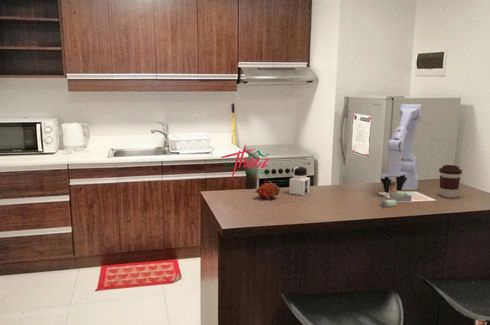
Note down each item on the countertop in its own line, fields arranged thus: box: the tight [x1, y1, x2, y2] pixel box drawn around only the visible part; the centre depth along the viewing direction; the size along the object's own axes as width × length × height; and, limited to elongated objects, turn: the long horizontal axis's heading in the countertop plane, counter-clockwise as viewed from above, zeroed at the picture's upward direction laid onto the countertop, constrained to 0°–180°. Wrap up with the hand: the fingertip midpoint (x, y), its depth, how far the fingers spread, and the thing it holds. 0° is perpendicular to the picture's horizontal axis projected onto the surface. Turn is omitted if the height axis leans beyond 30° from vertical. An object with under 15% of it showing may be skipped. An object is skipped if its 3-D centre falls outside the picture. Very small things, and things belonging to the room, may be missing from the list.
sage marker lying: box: [379, 199, 398, 209], centre depth 189 cm, size 6×3×3 cm, turn 99°
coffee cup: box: [438, 164, 463, 199], centre depth 208 cm, size 10×10×15 cm
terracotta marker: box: [389, 181, 397, 195], centre depth 208 cm, size 3×3×6 cm
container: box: [288, 166, 311, 196], centre depth 213 cm, size 8×8×13 cm
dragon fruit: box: [255, 181, 281, 200], centre depth 203 cm, size 8×8×12 cm
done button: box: [396, 190, 406, 196], centre depth 199 cm, size 4×4×3 cm
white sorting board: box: [379, 190, 437, 203], centre depth 205 cm, size 20×18×3 cm
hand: (392, 191), depth 208 cm, fingers open, 7 cm apart
